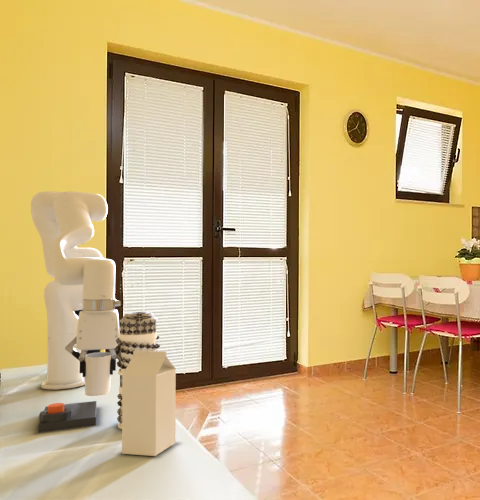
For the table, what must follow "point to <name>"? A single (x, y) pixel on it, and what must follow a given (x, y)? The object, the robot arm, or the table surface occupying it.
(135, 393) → the milk carton
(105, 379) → the white cup
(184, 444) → the table surface
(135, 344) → the decorative candle
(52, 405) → the tare button
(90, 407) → the scale
